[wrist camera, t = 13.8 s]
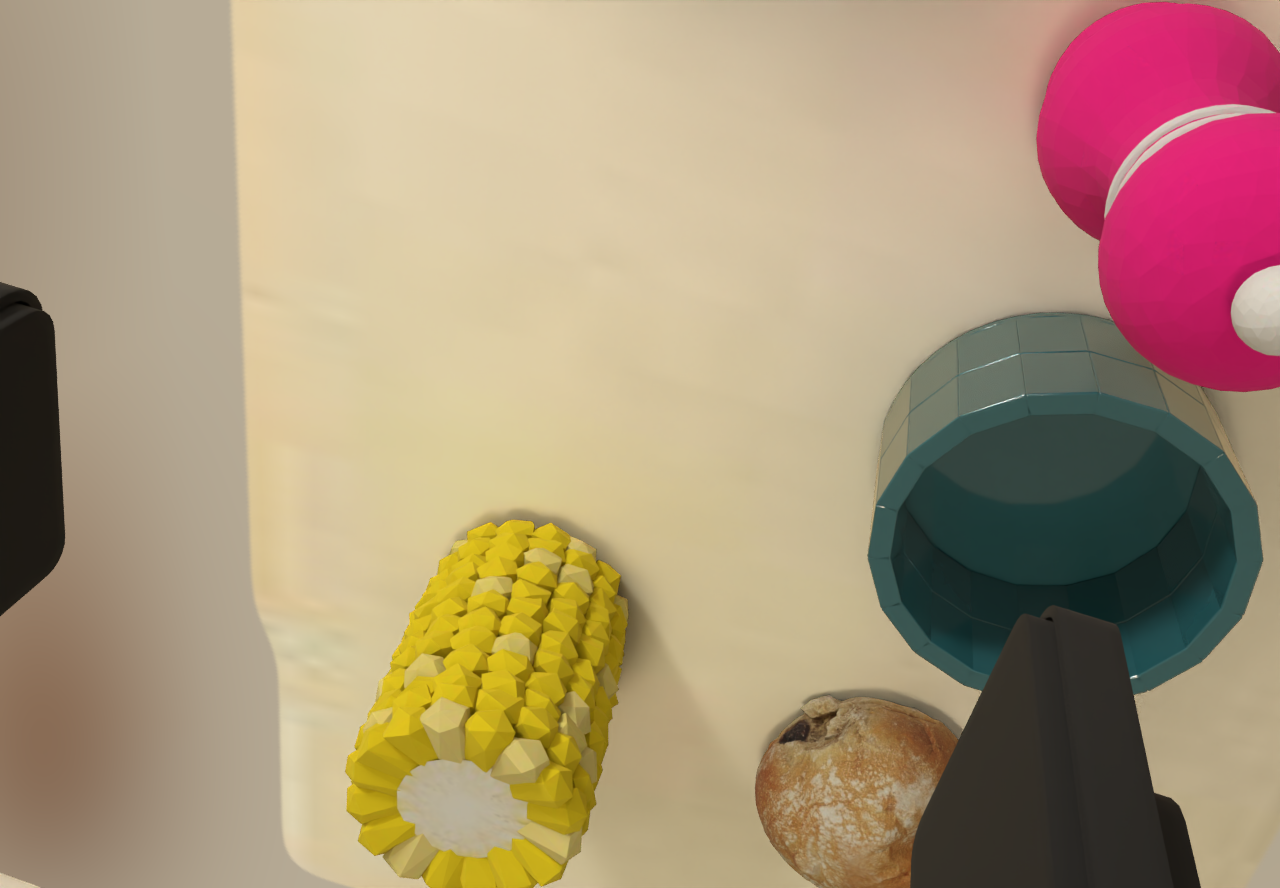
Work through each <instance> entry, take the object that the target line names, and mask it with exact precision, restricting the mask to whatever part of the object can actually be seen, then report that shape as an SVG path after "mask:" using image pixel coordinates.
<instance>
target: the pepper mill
mask: <svg viewBox="0 0 1280 888" xmlns="http://www.w3.org/2000/svg"><path fill="white" fill-rule="evenodd" d="M1036 139H1037V152H1038V161H1039V165H1040V169H1041V172H1042V176H1043V178H1044V180H1045V183H1046V185H1047V187H1048V189H1049V191H1050V193H1051V195H1052V196H1053V197H1054V199H1055V200H1056V202H1057V203H1058V205H1059V206H1060V208H1061V209H1062V211H1063V212H1064V213H1065V214H1066V215H1067V216H1068V217H1069V218H1070V219H1071V220H1072V221H1073V222H1074V223H1075V224H1076V225H1077V226H1078V227H1079V228H1080V229H1082V230H1083V231H1085V232H1086V233H1088V234H1089V235H1090V236H1092V237H1094V238H1096V239H1098V240H1100V244H1099V249H1098V269H1099V279H1100V286H1101V290H1102V294H1103V298H1104V302H1105V305H1106V307H1107V309H1108V311H1109V313H1110V315H1111V317H1112V319H1113V321H1114V323H1115V325H1116V326H1117V328H1118V329H1119V330H1120V332H1121V333H1122V335H1123V336H1124V337H1125V339H1126V340H1127V341H1128V342H1129V343H1130V345H1131V346H1132V347H1133V348H1134V349H1135V350H1136V351H1137V352H1138V353H1139V354H1141V355H1142V356H1143V357H1144V358H1146V359H1147V360H1148V361H1149V362H1151V363H1152V364H1153V365H1155V366H1156V367H1158V368H1159V369H1161V370H1162V371H1164V372H1165V373H1167V374H1169V375H1171V376H1173V377H1176V378H1178V379H1181V380H1183V381H1186V382H1188V383H1191V384H1194V385H1198V386H1202V387H1207V388H1211V389H1215V390H1220V391H1237V392H1248V391H1258V390H1268V389H1273V388H1277V387H1280V53H1279V52H1278V50H1277V49H1276V48H1275V47H1274V45H1273V44H1272V43H1271V42H1270V40H1269V39H1268V38H1267V37H1266V36H1265V34H1264V33H1263V32H1261V31H1260V30H1258V29H1257V28H1256V27H1254V26H1253V25H1252V24H1250V23H1249V22H1247V21H1246V20H1245V19H1243V18H1241V17H1239V16H1236V15H1234V14H1232V13H1230V12H1228V11H1225V10H1221V9H1218V8H1214V7H1210V6H1205V5H1197V4H1177V3H1169V2H1154V3H1141V4H1136V5H1132V6H1129V7H1125V8H1122V9H1119V10H1117V11H1115V12H1113V13H1110V14H1108V15H1106V16H1104V17H1103V18H1101V19H1099V20H1098V21H1096V22H1094V23H1093V24H1092V25H1090V26H1089V27H1088V28H1086V29H1085V30H1084V31H1083V32H1082V33H1081V34H1080V35H1079V36H1078V37H1077V38H1076V39H1074V40H1073V41H1072V43H1071V44H1070V45H1069V47H1068V48H1067V49H1066V51H1065V52H1064V53H1063V55H1062V56H1061V58H1060V59H1059V61H1058V63H1057V65H1056V67H1055V69H1054V71H1053V73H1052V75H1051V77H1050V80H1049V83H1048V87H1047V91H1046V96H1045V99H1044V102H1043V105H1042V109H1041V112H1040V115H1039V122H1038V130H1037V137H1036Z"/></svg>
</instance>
